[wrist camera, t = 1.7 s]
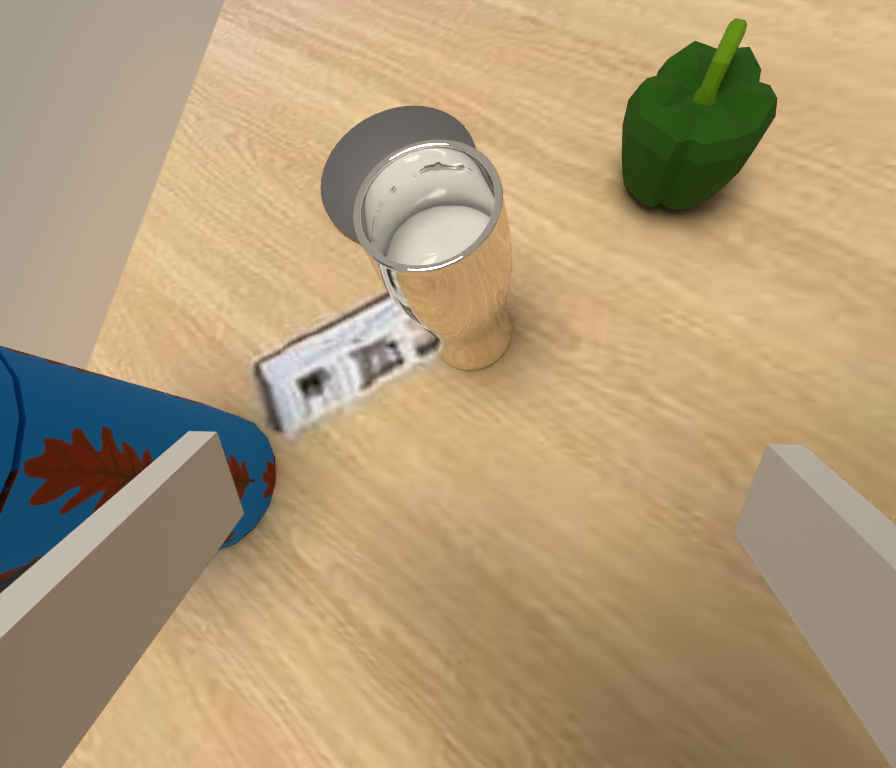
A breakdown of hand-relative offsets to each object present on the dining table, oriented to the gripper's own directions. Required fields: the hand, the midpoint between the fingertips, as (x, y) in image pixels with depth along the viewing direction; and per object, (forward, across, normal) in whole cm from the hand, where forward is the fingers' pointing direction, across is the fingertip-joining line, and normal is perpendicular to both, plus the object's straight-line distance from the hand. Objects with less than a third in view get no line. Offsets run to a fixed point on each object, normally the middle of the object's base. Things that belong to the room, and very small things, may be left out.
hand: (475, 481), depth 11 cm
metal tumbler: (+22, -1, -4) cm, 23 cm away
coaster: (+32, -8, +7) cm, 34 cm away
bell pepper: (+29, +14, +6) cm, 33 cm away
